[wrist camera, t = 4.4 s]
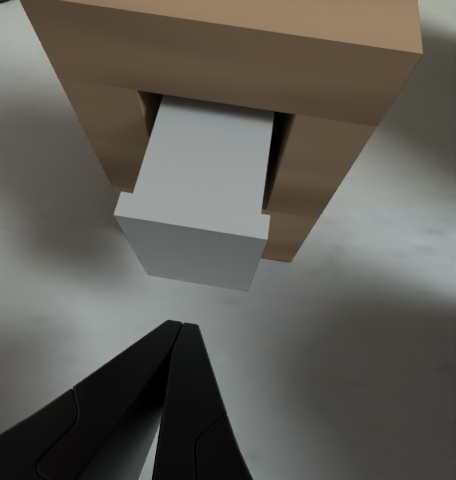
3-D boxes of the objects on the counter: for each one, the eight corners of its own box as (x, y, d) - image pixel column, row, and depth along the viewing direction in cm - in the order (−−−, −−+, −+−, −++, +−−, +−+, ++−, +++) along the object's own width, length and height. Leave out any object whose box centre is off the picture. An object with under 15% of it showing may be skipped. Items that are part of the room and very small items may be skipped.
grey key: (247, 291, 11) (267, 239, 7) (147, 275, 11) (113, 214, 7) (271, 117, 14) (294, 13, 10) (192, 105, 14) (184, -3, 10)
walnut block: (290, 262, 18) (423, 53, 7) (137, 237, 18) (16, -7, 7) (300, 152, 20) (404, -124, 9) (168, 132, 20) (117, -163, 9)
